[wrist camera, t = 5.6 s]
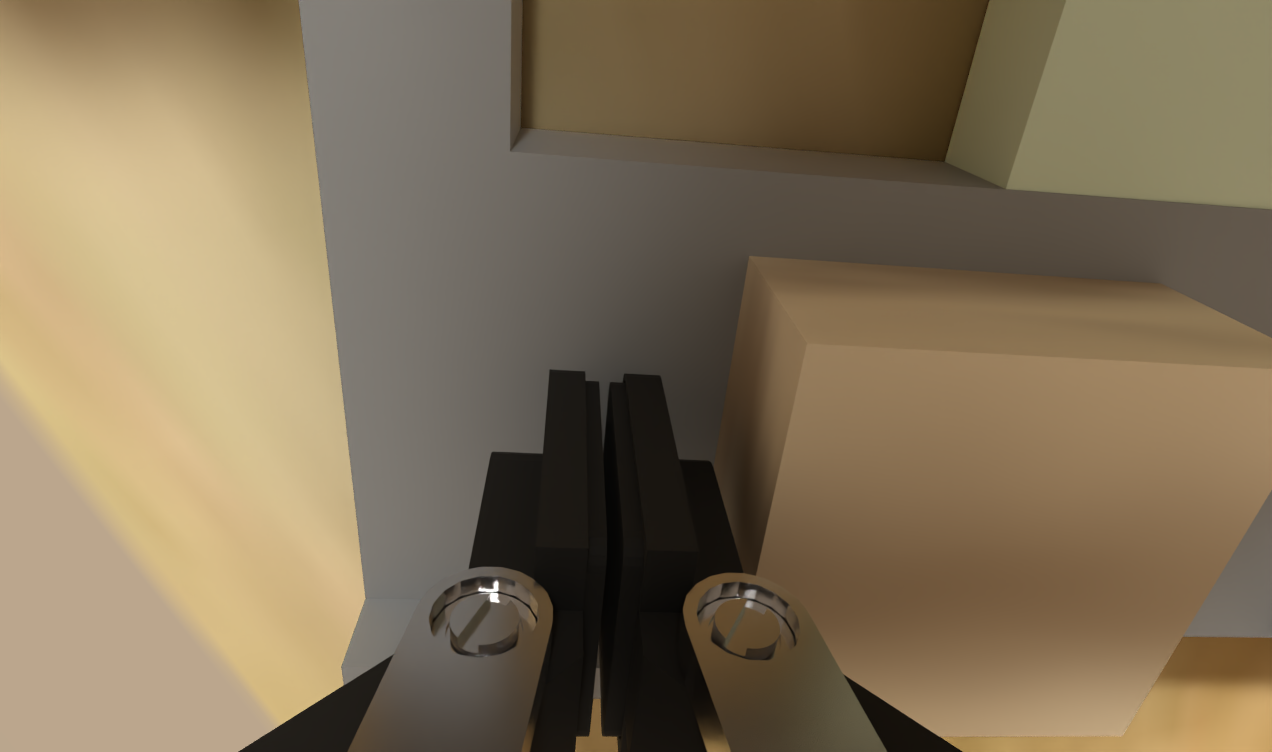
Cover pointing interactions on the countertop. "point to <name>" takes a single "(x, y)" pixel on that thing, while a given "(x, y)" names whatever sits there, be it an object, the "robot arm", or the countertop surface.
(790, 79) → the countertop surface
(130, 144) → the countertop surface
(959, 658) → the beech block
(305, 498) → the countertop surface
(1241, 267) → the board
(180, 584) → the countertop surface
